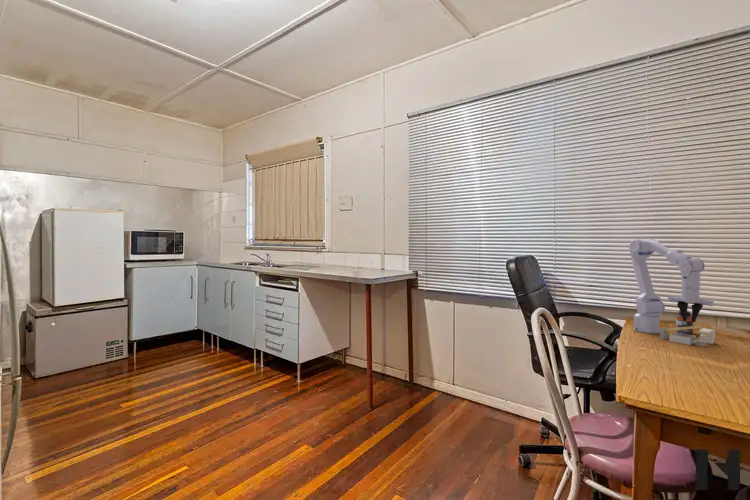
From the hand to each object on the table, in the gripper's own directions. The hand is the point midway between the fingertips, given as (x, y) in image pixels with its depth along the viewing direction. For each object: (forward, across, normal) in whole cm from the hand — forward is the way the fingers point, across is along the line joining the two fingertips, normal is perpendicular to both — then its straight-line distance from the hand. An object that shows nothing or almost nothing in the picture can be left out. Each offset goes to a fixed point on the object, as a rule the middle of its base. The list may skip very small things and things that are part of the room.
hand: (689, 321), depth 158 cm
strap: (+4, -2, 0) cm, 4 cm away
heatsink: (+9, -2, 0) cm, 9 cm away
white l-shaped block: (+9, +4, +6) cm, 12 cm away
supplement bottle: (+11, -7, +19) cm, 23 cm away
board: (+10, -2, +1) cm, 11 cm away
